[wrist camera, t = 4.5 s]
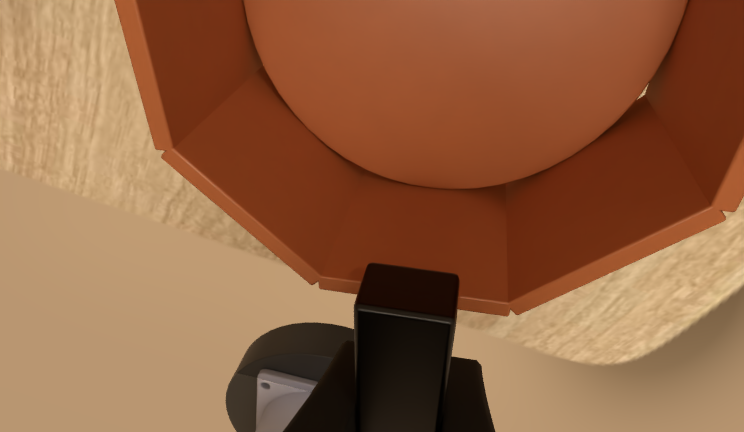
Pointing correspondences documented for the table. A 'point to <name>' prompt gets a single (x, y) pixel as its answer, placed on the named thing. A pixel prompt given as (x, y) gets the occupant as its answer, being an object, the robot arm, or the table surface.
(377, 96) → the pan
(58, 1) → the table surface
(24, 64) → the table surface
